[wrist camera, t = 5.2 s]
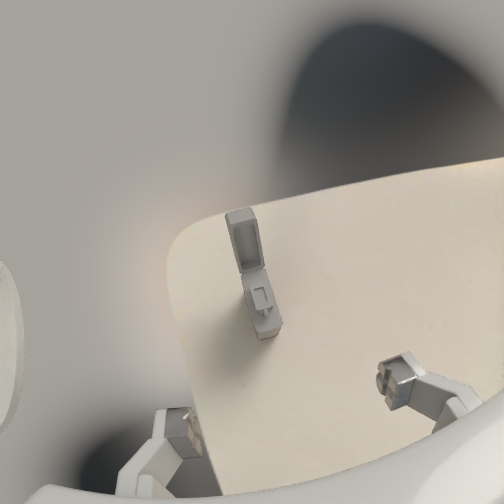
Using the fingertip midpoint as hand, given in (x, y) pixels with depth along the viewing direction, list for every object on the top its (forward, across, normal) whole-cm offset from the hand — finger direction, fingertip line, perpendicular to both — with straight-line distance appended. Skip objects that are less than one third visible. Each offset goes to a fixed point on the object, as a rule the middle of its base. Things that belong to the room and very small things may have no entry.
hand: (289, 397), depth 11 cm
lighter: (+13, 0, +2) cm, 13 cm away
